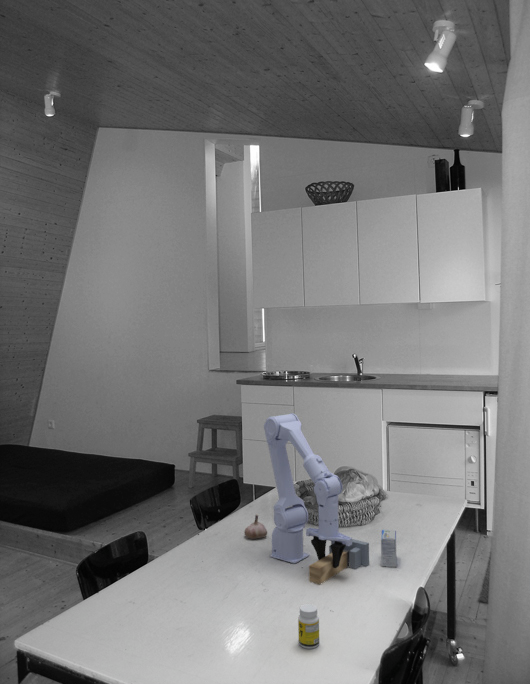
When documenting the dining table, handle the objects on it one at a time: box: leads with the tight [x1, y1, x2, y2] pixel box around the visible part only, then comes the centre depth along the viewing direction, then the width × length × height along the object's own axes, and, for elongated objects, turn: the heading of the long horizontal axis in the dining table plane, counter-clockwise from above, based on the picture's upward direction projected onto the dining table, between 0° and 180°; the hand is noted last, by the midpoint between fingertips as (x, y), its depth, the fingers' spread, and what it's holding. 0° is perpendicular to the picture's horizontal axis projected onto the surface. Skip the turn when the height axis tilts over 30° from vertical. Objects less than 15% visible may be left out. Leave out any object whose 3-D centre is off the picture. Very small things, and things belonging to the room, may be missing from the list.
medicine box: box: [380, 529, 398, 568], centre depth 188 cm, size 8×4×9 cm, turn 168°
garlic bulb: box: [243, 513, 268, 540], centre depth 211 cm, size 8×7×8 cm
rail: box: [308, 550, 349, 586], centre depth 181 cm, size 16×4×4 cm, turn 142°
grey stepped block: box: [328, 538, 370, 570], centre depth 189 cm, size 12×6×6 cm, turn 52°
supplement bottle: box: [297, 603, 320, 649], centre depth 143 cm, size 5×5×8 cm
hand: (329, 564), depth 181 cm, fingers open, 4 cm apart
